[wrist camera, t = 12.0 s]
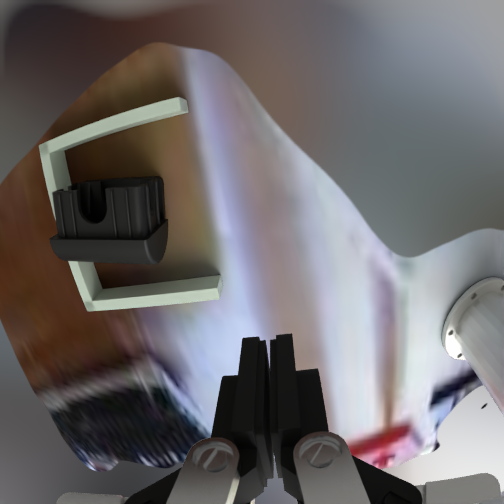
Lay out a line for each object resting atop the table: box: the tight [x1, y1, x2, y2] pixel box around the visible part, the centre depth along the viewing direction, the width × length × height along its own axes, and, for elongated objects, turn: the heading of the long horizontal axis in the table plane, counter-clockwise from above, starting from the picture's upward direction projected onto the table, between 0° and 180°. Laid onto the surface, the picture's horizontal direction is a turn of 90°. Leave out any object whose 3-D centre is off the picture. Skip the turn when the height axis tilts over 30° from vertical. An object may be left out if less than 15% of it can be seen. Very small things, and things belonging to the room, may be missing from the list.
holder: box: [39, 97, 223, 311], centre depth 28 cm, size 15×18×3 cm
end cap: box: [50, 176, 168, 264], centre depth 26 cm, size 10×7×7 cm
